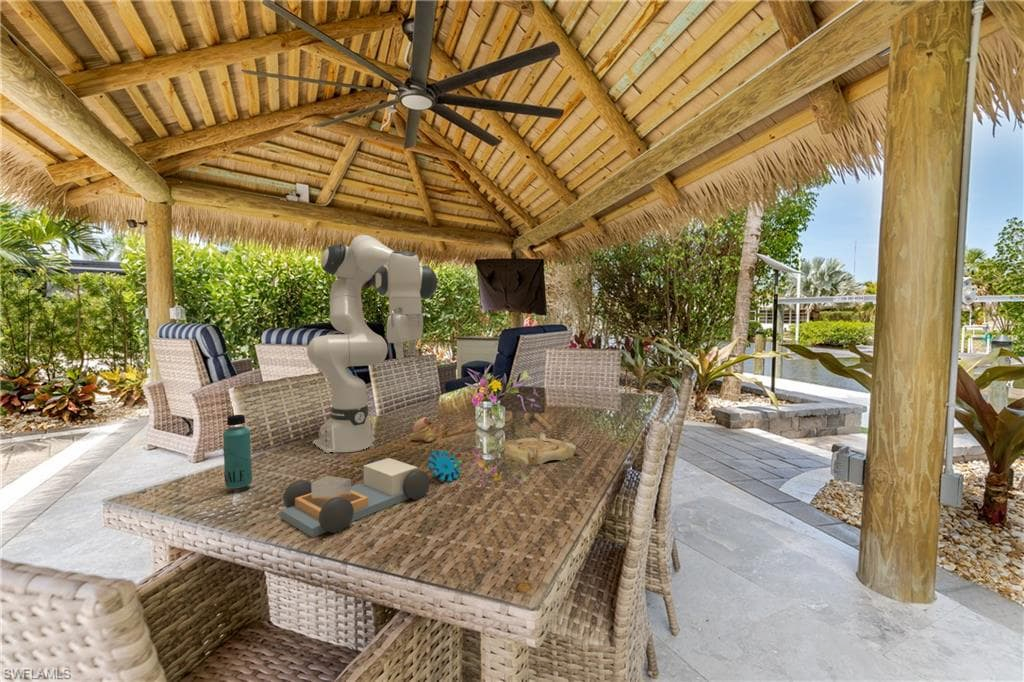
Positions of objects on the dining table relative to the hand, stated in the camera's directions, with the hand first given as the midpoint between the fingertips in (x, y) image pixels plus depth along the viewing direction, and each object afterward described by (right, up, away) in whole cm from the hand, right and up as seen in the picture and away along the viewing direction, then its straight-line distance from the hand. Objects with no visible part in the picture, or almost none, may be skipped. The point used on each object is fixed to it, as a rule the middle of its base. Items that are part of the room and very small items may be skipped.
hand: (406, 356), depth 133 cm
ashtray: (+39, -33, +21) cm, 56 cm away
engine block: (-12, -34, -25) cm, 44 cm away
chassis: (-7, -36, -19) cm, 41 cm away
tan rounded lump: (-2, -32, +36) cm, 48 cm away
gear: (+12, -35, -1) cm, 36 cm away
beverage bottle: (-42, -35, -10) cm, 56 cm away
